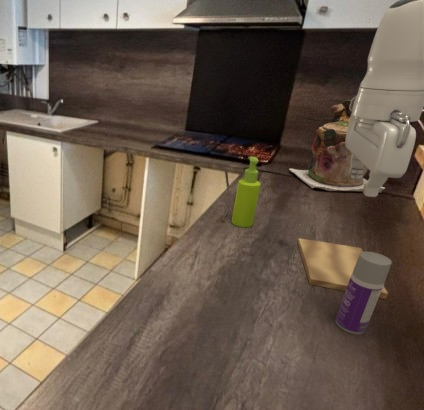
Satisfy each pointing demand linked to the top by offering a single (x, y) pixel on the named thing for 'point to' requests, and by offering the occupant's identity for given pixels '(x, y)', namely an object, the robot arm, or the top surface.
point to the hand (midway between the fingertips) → (361, 186)
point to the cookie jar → (332, 156)
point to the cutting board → (330, 264)
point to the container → (363, 292)
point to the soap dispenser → (246, 196)
